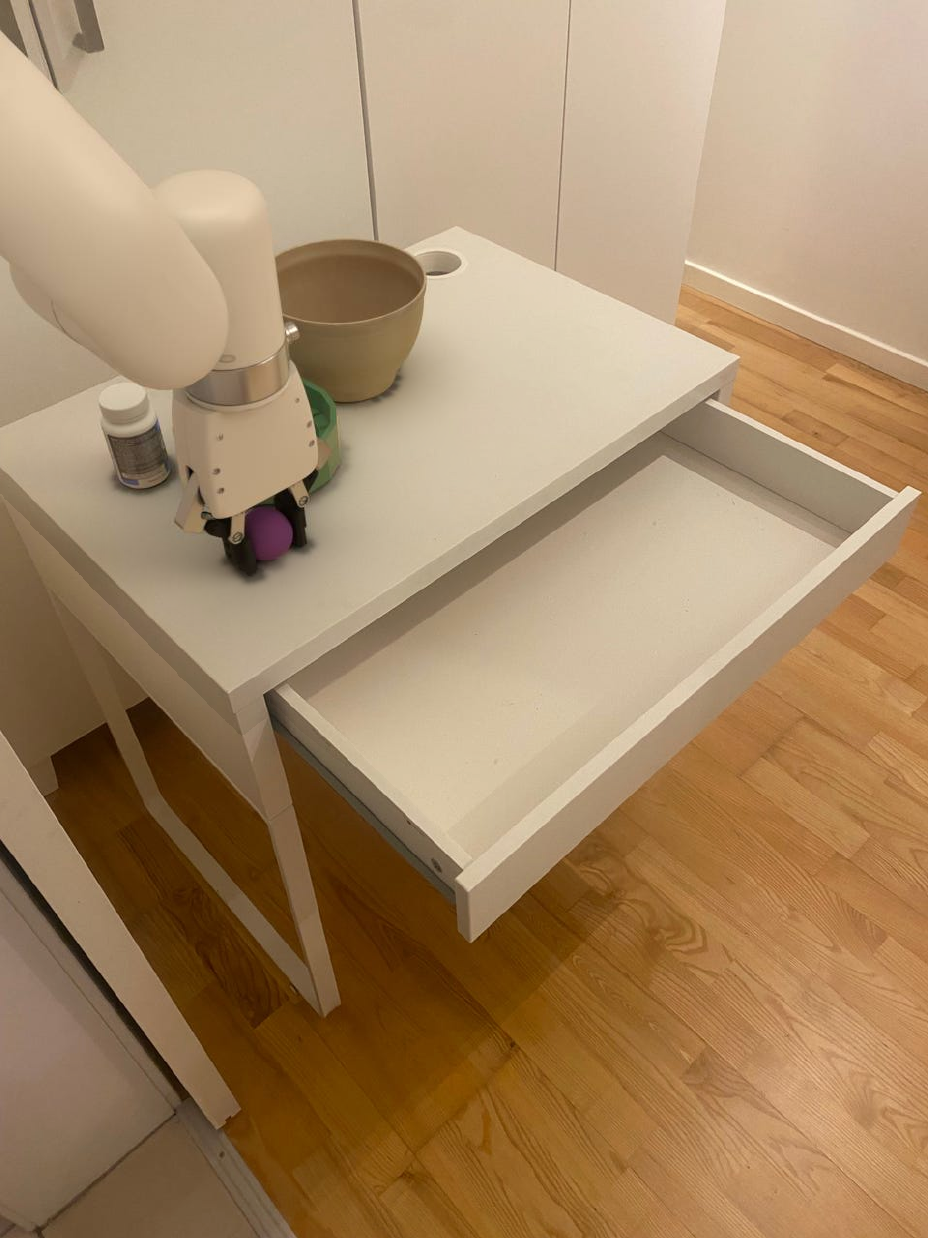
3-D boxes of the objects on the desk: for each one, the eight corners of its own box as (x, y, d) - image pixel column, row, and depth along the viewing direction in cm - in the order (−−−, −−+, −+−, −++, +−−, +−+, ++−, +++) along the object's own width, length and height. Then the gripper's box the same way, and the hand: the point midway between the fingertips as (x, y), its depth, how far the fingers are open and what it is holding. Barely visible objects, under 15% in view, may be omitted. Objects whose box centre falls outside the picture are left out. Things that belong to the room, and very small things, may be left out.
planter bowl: (439, 341, 102) (439, 243, 94) (411, 432, 92) (409, 331, 84) (293, 326, 104) (280, 228, 96) (248, 415, 93) (230, 313, 85)
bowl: (170, 491, 85) (157, 446, 82) (235, 407, 94) (227, 363, 90) (307, 522, 83) (301, 478, 79) (361, 433, 92) (358, 389, 88)
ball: (233, 564, 80) (224, 525, 76) (256, 530, 82) (248, 491, 79) (282, 576, 79) (275, 537, 75) (303, 541, 82) (298, 502, 78)
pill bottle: (182, 472, 87) (162, 395, 81) (137, 497, 85) (113, 419, 79) (151, 449, 89) (129, 372, 83) (107, 473, 87) (81, 395, 81)
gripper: (299, 300, 73) (321, 485, 86) (97, 386, 65) (157, 575, 78) (362, 341, 69) (374, 528, 83) (157, 438, 61) (208, 627, 75)
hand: (268, 549), depth 80 cm, fingers closed on ball, 4 cm apart
